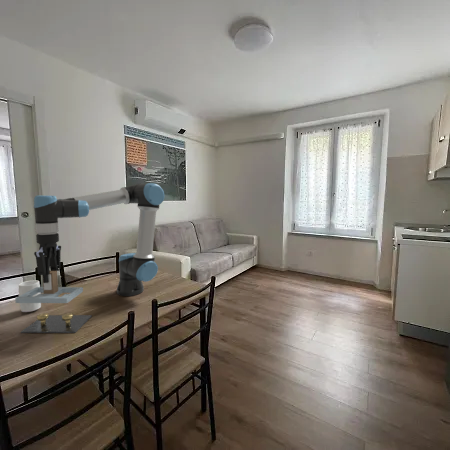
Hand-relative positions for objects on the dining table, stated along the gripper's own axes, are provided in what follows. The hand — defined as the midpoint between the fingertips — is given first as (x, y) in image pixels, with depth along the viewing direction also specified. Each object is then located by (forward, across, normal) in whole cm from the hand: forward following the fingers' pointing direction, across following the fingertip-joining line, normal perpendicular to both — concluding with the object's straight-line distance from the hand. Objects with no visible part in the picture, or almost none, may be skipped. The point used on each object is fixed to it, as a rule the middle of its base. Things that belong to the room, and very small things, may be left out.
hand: (51, 287), depth 103 cm
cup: (+18, -16, -21) cm, 33 cm away
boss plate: (+18, -4, 0) cm, 19 cm away
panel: (+4, 0, 0) cm, 4 cm away
